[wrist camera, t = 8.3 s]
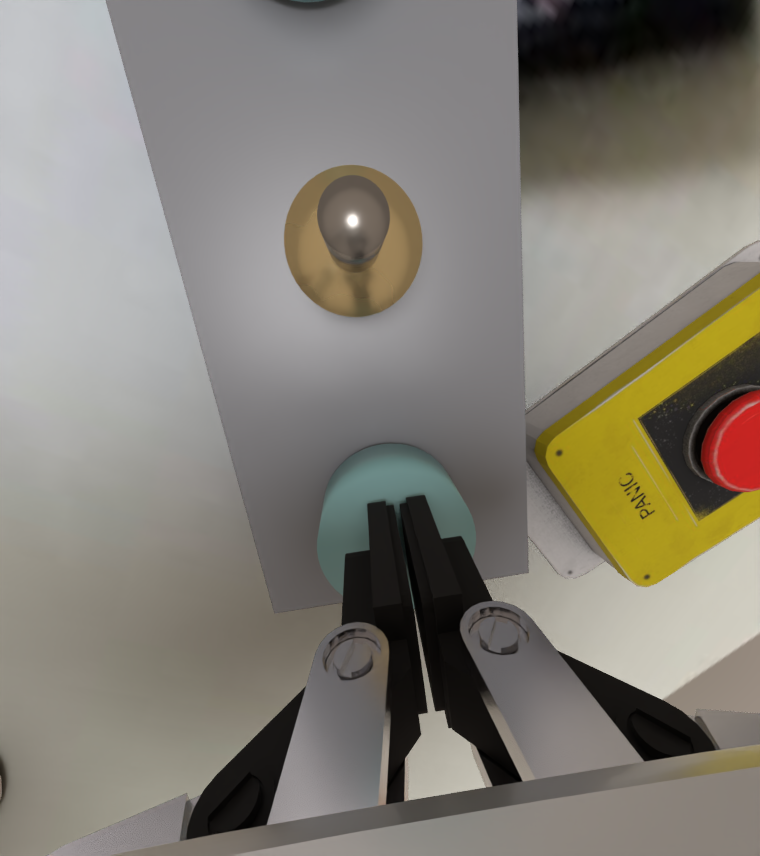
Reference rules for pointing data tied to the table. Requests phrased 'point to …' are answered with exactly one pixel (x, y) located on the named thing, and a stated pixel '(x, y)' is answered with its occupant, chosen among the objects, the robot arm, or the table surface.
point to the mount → (270, 274)
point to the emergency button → (654, 437)
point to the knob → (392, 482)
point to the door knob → (353, 240)
